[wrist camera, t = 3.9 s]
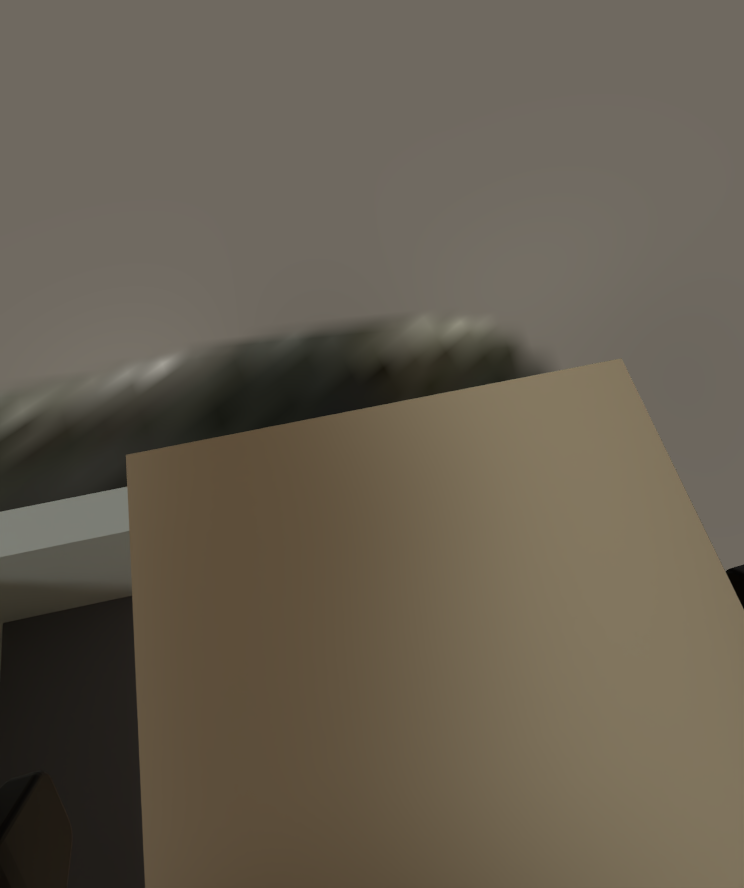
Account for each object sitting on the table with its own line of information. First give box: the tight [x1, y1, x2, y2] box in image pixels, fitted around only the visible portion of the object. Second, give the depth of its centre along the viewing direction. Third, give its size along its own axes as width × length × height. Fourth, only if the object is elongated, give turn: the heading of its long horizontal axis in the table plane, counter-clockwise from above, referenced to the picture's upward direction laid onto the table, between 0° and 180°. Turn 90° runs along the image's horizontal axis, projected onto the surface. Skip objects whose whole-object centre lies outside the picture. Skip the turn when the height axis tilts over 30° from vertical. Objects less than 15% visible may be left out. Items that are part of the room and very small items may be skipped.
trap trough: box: [0, 487, 145, 888], centre depth 13 cm, size 14×12×4 cm
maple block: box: [126, 359, 744, 888], centre depth 10 cm, size 5×5×11 cm
